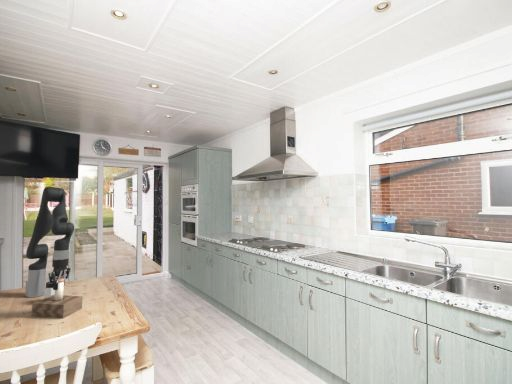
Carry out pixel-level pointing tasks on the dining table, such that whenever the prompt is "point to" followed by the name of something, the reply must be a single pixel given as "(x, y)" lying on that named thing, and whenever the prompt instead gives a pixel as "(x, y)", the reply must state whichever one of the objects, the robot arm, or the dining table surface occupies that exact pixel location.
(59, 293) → the plug
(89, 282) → the dining table surface
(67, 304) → the socket block
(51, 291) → the jar
